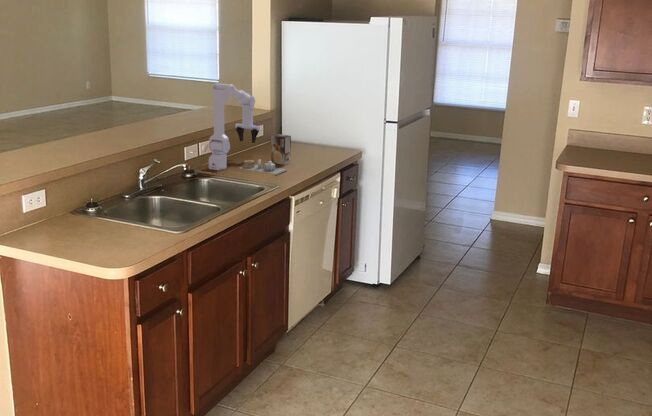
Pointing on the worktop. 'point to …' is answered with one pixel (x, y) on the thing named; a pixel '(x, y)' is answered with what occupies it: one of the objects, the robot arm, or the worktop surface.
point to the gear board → (266, 168)
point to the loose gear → (249, 163)
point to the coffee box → (281, 149)
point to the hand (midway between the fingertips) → (247, 141)
